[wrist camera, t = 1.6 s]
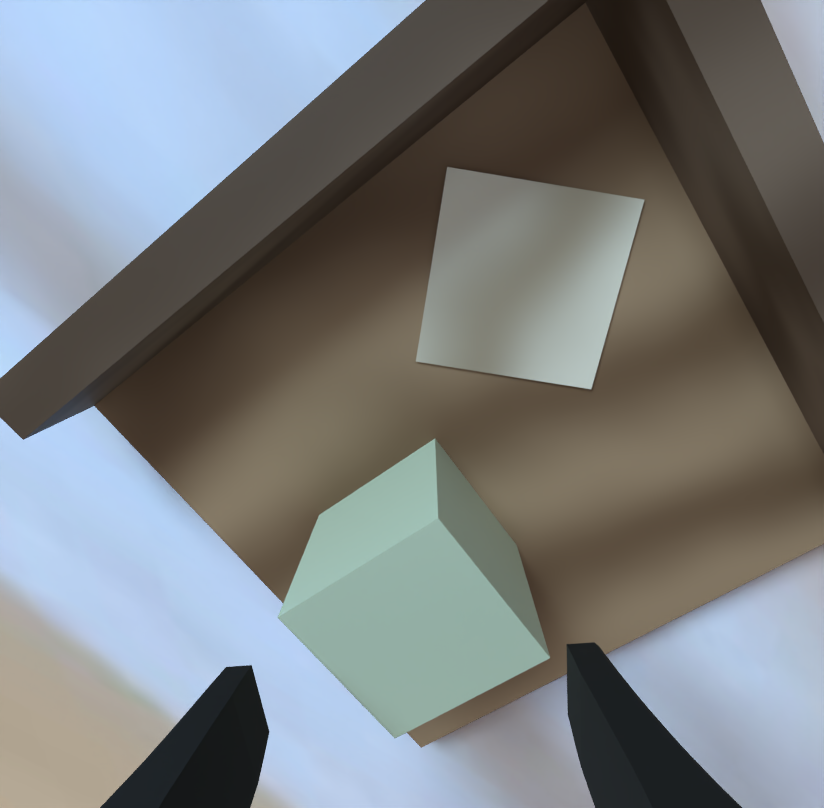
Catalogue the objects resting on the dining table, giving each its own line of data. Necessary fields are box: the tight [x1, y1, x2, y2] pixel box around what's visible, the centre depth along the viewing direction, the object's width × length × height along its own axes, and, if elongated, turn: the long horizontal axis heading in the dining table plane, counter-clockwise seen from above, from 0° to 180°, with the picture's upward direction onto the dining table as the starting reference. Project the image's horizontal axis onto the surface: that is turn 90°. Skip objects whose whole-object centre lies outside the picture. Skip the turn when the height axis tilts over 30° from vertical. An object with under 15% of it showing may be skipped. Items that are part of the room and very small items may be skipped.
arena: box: [0, 0, 824, 747], centre depth 15 cm, size 20×20×4 cm
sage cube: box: [278, 439, 550, 738], centre depth 15 cm, size 5×5×5 cm
